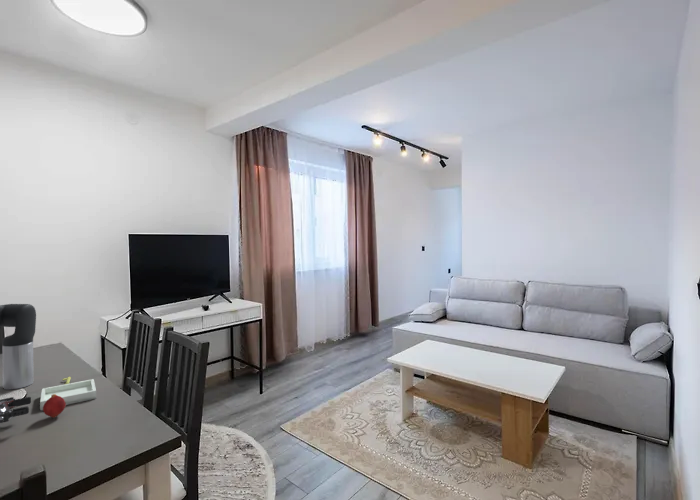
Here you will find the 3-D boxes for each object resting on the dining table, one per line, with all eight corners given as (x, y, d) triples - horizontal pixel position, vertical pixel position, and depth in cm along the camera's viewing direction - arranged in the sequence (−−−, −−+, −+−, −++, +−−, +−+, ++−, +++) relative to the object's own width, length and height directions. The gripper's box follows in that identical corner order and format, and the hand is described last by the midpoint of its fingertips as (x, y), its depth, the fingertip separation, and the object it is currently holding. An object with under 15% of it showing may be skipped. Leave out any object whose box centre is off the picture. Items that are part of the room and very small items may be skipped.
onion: (51, 413, 124) (51, 390, 123) (69, 412, 124) (69, 390, 124) (38, 421, 118) (38, 397, 118) (57, 421, 118) (57, 397, 118)
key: (70, 380, 153) (70, 376, 153) (78, 389, 145) (78, 383, 145) (48, 386, 147) (48, 381, 147) (55, 394, 139) (55, 389, 139)
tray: (42, 396, 136) (42, 388, 136) (93, 386, 146) (93, 379, 146) (40, 410, 125) (40, 402, 125) (96, 398, 135) (96, 390, 135)
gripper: (-50, 416, 101) (27, 401, 111) (-38, 398, 112) (31, 386, 122) (-49, 442, 101) (28, 425, 111) (-38, 422, 113) (31, 407, 123)
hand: (29, 404), depth 117 cm, fingers open, 8 cm apart
